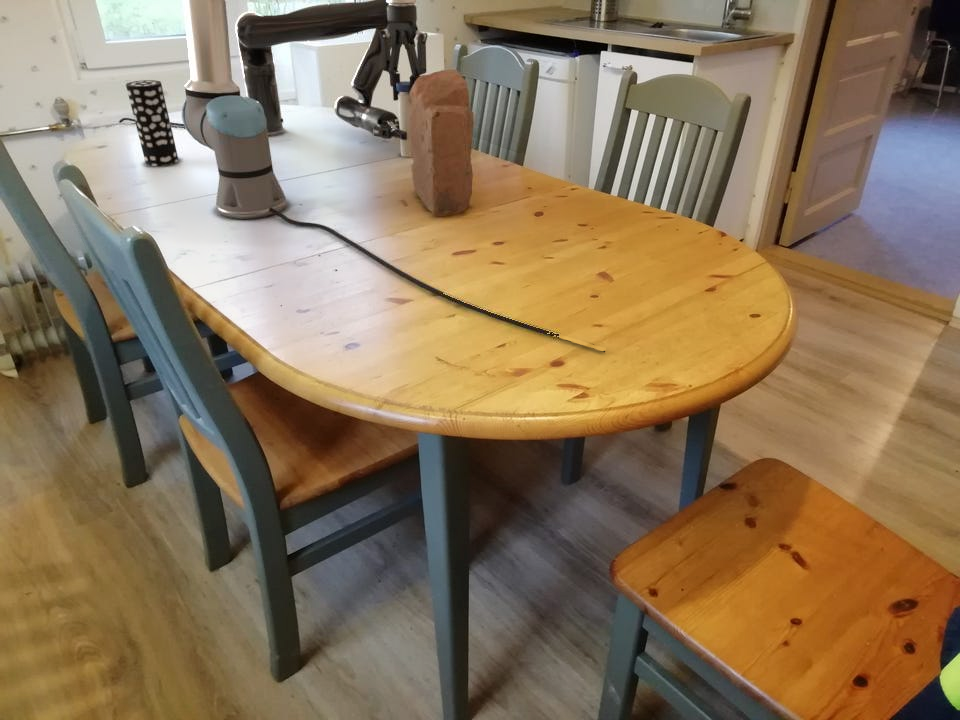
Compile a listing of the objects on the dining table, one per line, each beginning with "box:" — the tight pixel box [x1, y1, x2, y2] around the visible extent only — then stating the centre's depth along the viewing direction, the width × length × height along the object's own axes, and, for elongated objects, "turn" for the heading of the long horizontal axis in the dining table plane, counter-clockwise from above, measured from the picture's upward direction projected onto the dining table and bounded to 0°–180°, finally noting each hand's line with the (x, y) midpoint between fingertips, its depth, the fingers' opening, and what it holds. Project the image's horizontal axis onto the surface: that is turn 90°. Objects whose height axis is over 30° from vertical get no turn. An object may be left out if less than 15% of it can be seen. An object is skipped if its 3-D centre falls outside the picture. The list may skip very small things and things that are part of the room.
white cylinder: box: [397, 92, 412, 158], centre depth 190 cm, size 4×4×18 cm
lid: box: [396, 80, 410, 92], centre depth 185 cm, size 5×5×2 cm
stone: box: [409, 69, 475, 217], centre depth 155 cm, size 22×11×28 cm, turn 18°
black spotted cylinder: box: [125, 79, 179, 167], centre depth 181 cm, size 8×8×20 cm
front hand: (405, 100), depth 187 cm, fingers closed on lid, 5 cm apart
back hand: (412, 134), depth 189 cm, fingers closed on white cylinder, 4 cm apart
